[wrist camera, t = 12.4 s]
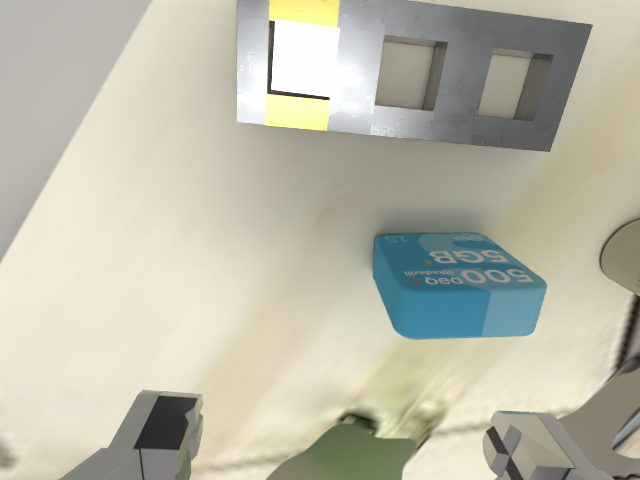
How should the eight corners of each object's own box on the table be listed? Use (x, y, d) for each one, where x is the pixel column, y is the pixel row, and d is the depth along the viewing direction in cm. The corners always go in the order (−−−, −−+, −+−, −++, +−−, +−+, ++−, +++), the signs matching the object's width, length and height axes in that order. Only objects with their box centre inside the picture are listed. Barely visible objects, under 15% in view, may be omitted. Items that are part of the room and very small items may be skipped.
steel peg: (329, 46, 30) (339, 28, 22) (323, 96, 32) (331, 96, 23) (282, 40, 30) (275, 19, 21) (279, 90, 31) (271, 89, 23)
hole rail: (566, 31, 31) (594, 24, 28) (529, 147, 34) (551, 152, 31) (243, -10, 28) (237, -23, 25) (242, 119, 32) (236, 122, 29)
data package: (482, 231, 38) (557, 288, 27) (474, 269, 39) (543, 337, 28) (372, 233, 37) (403, 292, 26) (370, 271, 39) (397, 341, 28)
